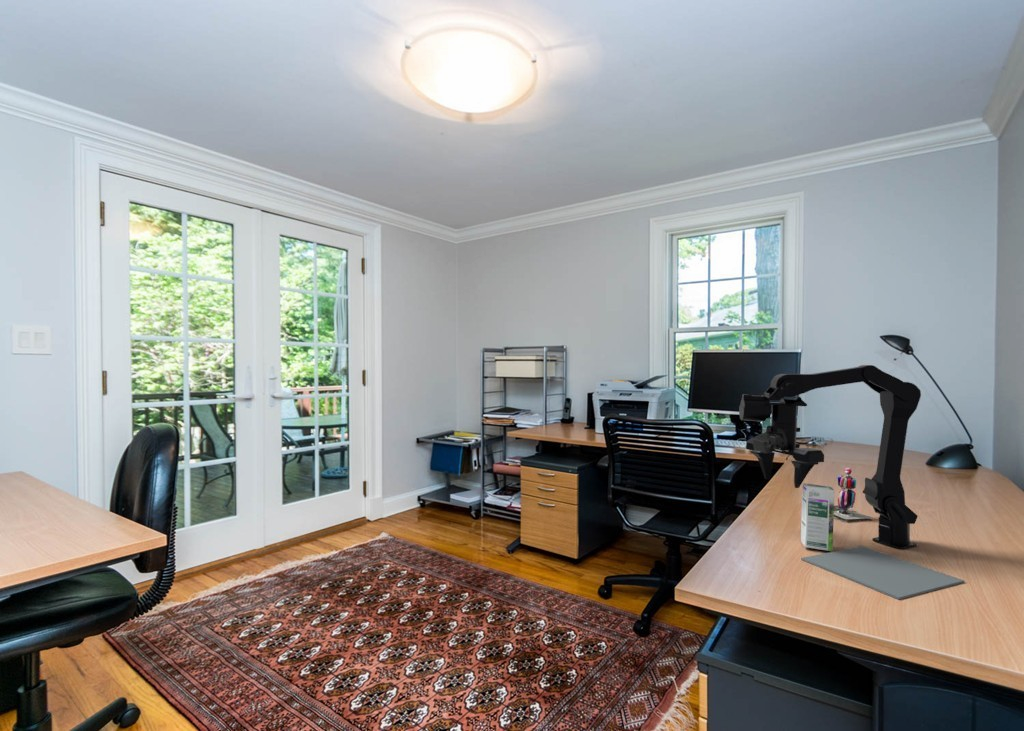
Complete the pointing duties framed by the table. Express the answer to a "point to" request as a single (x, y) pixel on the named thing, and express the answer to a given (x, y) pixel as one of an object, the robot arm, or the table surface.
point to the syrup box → (817, 516)
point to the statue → (847, 499)
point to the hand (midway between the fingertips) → (781, 483)
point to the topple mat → (882, 572)
